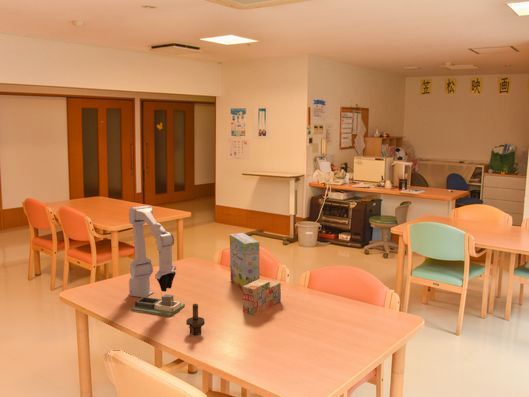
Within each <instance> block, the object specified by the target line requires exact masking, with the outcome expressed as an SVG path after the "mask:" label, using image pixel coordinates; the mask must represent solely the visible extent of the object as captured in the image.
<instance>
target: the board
mask: <svg viewBox="0 0 529 397" xmlns="http://www.w3.org/2000/svg"><path fill="white" fill-rule="evenodd" d="M134 303H135V304H134V305H133V307H130V311H132V312H138V313H139V312H140V313H145V314H150V315H151V314H152V315H156V316H163V317H172V316H173V315H174V314H177V312H179V311H180V310H181V309H183V308H185V306H186V304H185V303H182V301H181V302H180V301H176V300H174V306H173V307H171V306H164V305H162V298H154V297H148V296H147V297H140V299H137V300H136V301H135V302H134Z"/></svg>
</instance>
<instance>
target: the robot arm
mask: <svg viewBox="0 0 529 397" xmlns="http://www.w3.org/2000/svg"><path fill="white" fill-rule="evenodd" d="M153 212H154V211H153V208H152V206H151V205H149V204H147V205H140V206H131V207H130V208H129V210H128V220H129V224H130V225H132V234H133V244H134V253H135V257H134V258H133V259H132V260H131V261H130V264H129V265H130V266H129V273H130V277H129V280H128V288H129V289H128V291H129V292H128V296H131V297H140V298H143V297H148V296H150V295H152V294H154V293H155V292H154V291H152V290H151V288H150V286H151V282H150V281H151V280H150V277H151V275H153V272H154V266H153V264H152V259H151V258H149V257H147V253H146V252H147V250H146V241H145V230H144V225H145V223H146V225H148V226H149V228H150V229H149V231H150V233H151V234H152V235H153V237H154V238H155V243H156V249H157V251H158V270H157V272H156V273H155V274H154V278H155V279H156V281H157V282H158V284H159V287H160V290H161V292H167V291H168V290H167V289H172V286H173V282H174V279H175V276H176V275H177V273H176V270H177V266H176V265H175V264H174V265H173V250H172V249H173V248H172V246H174V243H175V238H174V234H173V233H171V232H169V231H167V230H166V229H165V228H164V226H163V225H162V224H161V223H159V222H157V220H156V218H155V217H154V214H153Z"/></svg>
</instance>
